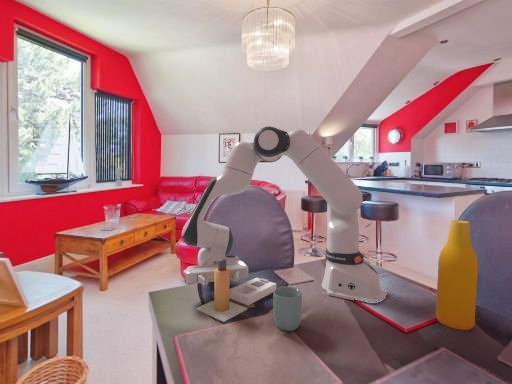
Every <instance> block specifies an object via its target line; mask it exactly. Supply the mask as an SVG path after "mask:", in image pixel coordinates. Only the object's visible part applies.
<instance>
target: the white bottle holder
mask: <svg viewBox="0 0 512 384" xmlns="http://www.w3.org/2000/svg"><path fill="white" fill-rule="evenodd" d="M276 288H277V283H276V282H274V281H273V282H272V281H269V279H266V278H263V277H262V278H260V277H255V278H253V279H250V280H247V281H245V282H243V283H241V284H238V285H236V286H233V287H231V288H229V300H233V301H235V302H238V303H241V304H243V305H245V306H250V305H252V304H253V303H255V302H257V301H259V300H261V299H263V298H265V297H267V296H269V295H271V294H272V293H274V290H275V289H276Z"/></svg>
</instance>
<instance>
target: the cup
mask: <svg viewBox="0 0 512 384" xmlns="http://www.w3.org/2000/svg"><path fill="white" fill-rule="evenodd" d="M272 302H273V303H272V307H273V308H272V311H273V313H272V314H273V321H274V323H275V326H276V327H277V328H278V329H280V330H281V331H283V330H284V332H293V331H295V330H296V329H298V328H299V326H300V324H301V321H302V320H301V319H302V314H303V292H302V290H301V289H300V288H297V287H295V286H286V285H285V286H279V287H276V289H275V290H274V292H273V296H272Z"/></svg>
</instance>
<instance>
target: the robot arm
mask: <svg viewBox="0 0 512 384" xmlns="http://www.w3.org/2000/svg"><path fill="white" fill-rule="evenodd" d="M283 156H286V157H288V158H289V159H290V160H292V161H293V163H294V164H295V165H296V166H297V168H298V169H299V170H300V172H301V173H302V174H303V175H304V176H305V177H306V179H307V180H308V181H309V182H310V183H311V184H312V186H313V187H314V188H315V189H316V191H317V192H318V193H319V194H320V195H321V197H322V198H323V199H324V200H325V202H326V203H327V204H326V205H327V206H326V207H327V208H326V209H327V213H326V214H327V215H326V217H327V218H326V220H327V221H326V223H327V224H326V225H327V227H326V229H327V232H326V233H327V235H326V237H327V239H326V248H325V257H324V258H325V268H324V274H323V280H322V283H321V287H322V289H323V290H324V291H326V294H327V295H328V296H332V297H335V298H340V299H345V300H351V301H354V299H357V300H363V301H368V302H377V301H380V300H382V299H384V298H385V297H386V295H387V296H388V291H386V290H387V289H386V288H384V289H385V290H384V289H383V287H381V281H380V277H379V275H378V274H377V273H376V272H375V271H374V270H373V269H371V268H370V267H369V266H368V264H366V263H365V262H364V261H365V259H364V258H365V257H366V253H363V254H362V253H361V251H360V249H359V246H360V245H359V242H360V240H359V239H360V237H359V236H360V227H359V213H358V212H359V211H358V210H359V209H360V208H361V206H362V205H363V193H362V191H361V189H360V188H359V187H358V186H357V185H356V184H355V183H354V182H353V180H352V179H351V178H350V177H349V176H348V175H347V174H346V172H345V171H344V170H342V168H341V167H340V166H339V165H338V163H336V162H335V161H334V160H333V159H332V157H330V155H329V154H328V153H327V152H326V151H325V150H324V148H323V147H322V146H321V145H320V144H319V143H318V142H317V140H315V138H313V137H312V136H311V135H310V134H309V133H307V131H305V130H303V129H302V128H301V129H300V128H296V129H293V130H291V131H290V132H287V131H286V130H283V129H279V128H277V127H274V126H264V127H262V128H260V129H259V130H258V131H257V132H255V135H254V138H253V142H249V141H238V142H236V143H235V144H234V145H233V147H232V149H231V150H230V153H229V154H228V156H227V159H226V161H225V163H224V167H223V169H222V171H221V172H220V174H219V175H218V176H217V177H213V178H211V179H210V181H209V182H208V183H207V185H206V187H205V188H204V190H203V192H202V194H201V196H200V197H199V200H198V201H197V202H196V204H195V206H194V209H193V210H192V212H191V215H190V216H189V217H188V219H187V221H186V222H185V224H184V225H183V228H182V230H181V237H180V238H181V239H182V241H183V242H184V243H185V244H186V246H188V247H189V246H190V247H195V248H196V247H198V248H200V249H199V250H198V253H197V263H198V264H197V265H191V266H190V265H189V266H187V267H186V269H184V270H183V274H184V276H185V283H186V284H187V285H194V284H201V285H202V286H208V285H209V283H212V282H214V269H215V268H218V259H220V258H224V259H226V267H227V268H229V269H230V279H229V281H230V280H232V281H233V282H234V283H239V282H240V279H247V278H248V277H249V266H248V265H247V263H245V262H244V261H243V260H241V259H240V258H239V256H237V255H229V254H230V252H231V249H232V247H233V243H234V236H233V233H232V230H231V228H230V227H228V226H225V225H223V224H218V223H214V222H210V221H206V220H204V216H205V215H206V213H207V211H208V209H209V207H210V205H211V203H212V202H213V200H215V199H216V198H218V197H221V196H223V197H224V196H232V195H238V194H239V195H240V194H241V193H243V192H245V191H246V190H247V189H248V188H249V186H250V185H251V182H252V179H253V176H254V173H255V169H256V167H257V165H258V163H274V162H277V161H279V160H280V159H281V158H282V157H283ZM382 291H386V292H382ZM386 298H387V297H386ZM376 299H378V300H376Z"/></svg>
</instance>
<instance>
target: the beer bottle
mask: <svg viewBox="0 0 512 384" xmlns="http://www.w3.org/2000/svg"><path fill="white" fill-rule="evenodd" d="M470 228H471V227H470V221H466V220H457V219H456V220H455V219H454V220H453V219H451V220H450V224H449V231H448V235H447V238H446V239H447V240H446V242H445V244H444V246H443V247H442V249H441V251H440V253H439V255H438V260H437V261H438V263H437V264H438V265H437V283H436V285H437V286H436V305H435V317H436V320H437V321H438V322H439V323H440V324H442V325H444V326H446V327H448V328H452V329H455V330H459V331H460V330H461V331H469V330H472V329H473V328H474V326H475V323H476V322H475V321H476V301H477V300H476V299H477V285H478V270H479V264H478V263H479V262H478V257H477V255H476V252H475V250H474V248H473V246H472V242H471V241H472V240H471V229H470Z"/></svg>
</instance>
